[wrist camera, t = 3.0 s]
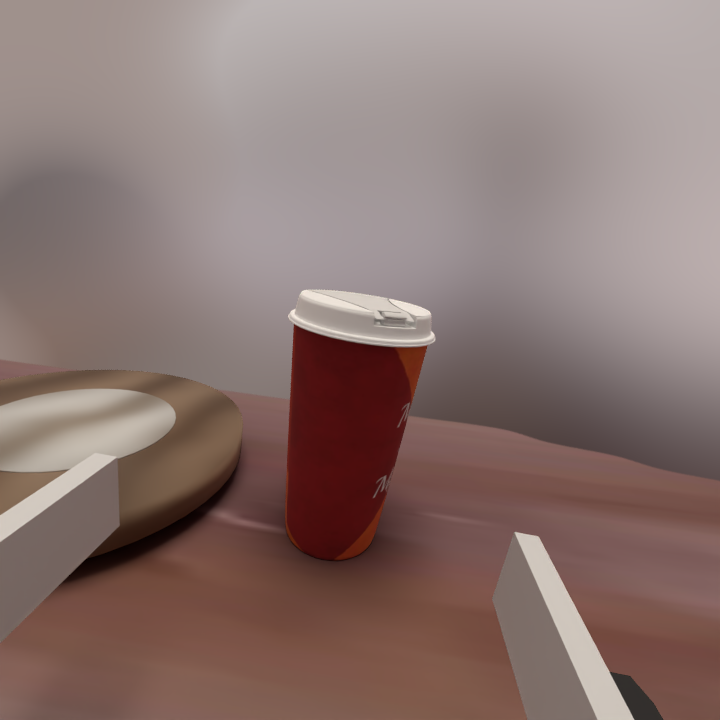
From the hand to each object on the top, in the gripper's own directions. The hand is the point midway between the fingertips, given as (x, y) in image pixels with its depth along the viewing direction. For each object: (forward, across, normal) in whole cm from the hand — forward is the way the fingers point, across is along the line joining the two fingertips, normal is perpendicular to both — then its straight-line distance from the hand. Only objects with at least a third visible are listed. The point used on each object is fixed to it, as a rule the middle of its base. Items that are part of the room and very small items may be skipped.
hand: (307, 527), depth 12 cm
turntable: (+10, -17, -6) cm, 21 cm away
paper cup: (+9, 0, -8) cm, 12 cm away
